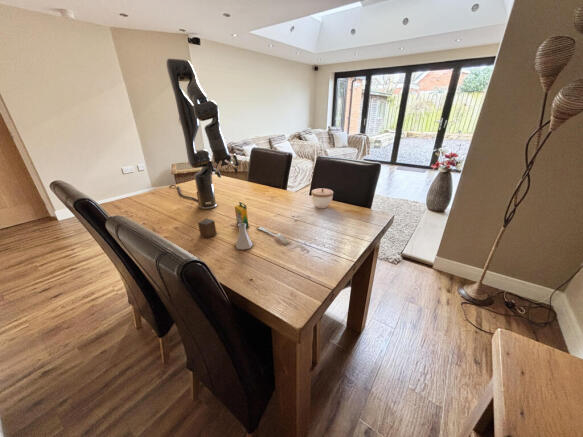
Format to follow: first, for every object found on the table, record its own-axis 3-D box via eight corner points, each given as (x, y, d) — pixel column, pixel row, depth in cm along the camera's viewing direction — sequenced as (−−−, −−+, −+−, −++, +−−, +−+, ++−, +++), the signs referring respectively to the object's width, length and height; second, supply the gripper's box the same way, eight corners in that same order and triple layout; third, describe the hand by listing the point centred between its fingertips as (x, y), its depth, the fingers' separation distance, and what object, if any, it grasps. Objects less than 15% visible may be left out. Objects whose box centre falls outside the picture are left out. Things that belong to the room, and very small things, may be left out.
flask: (236, 241, 103) (234, 221, 99) (253, 240, 104) (251, 220, 99) (234, 250, 97) (231, 229, 92) (252, 249, 97) (250, 228, 93)
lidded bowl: (308, 208, 137) (308, 190, 132) (314, 201, 147) (315, 184, 143) (329, 211, 132) (330, 192, 128) (334, 203, 143) (335, 186, 138)
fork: (262, 231, 117) (261, 226, 116) (290, 242, 102) (289, 237, 101) (257, 233, 115) (256, 228, 114) (285, 245, 100) (284, 239, 99)
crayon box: (236, 223, 119) (233, 202, 115) (241, 222, 121) (239, 201, 116) (243, 228, 114) (241, 206, 109) (248, 227, 116) (246, 205, 111)
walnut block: (200, 236, 108) (197, 222, 105) (208, 231, 112) (206, 218, 109) (208, 238, 106) (205, 224, 103) (216, 233, 110) (214, 220, 107)
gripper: (232, 140, 118) (240, 168, 129) (203, 146, 116) (214, 175, 126) (233, 145, 112) (242, 175, 123) (203, 152, 110) (215, 181, 121)
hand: (228, 175), depth 125 cm, fingers open, 8 cm apart
